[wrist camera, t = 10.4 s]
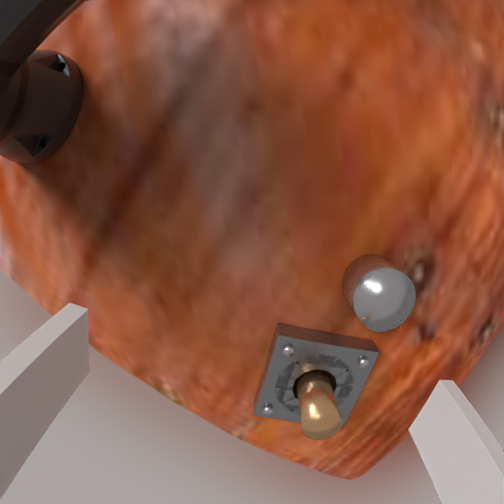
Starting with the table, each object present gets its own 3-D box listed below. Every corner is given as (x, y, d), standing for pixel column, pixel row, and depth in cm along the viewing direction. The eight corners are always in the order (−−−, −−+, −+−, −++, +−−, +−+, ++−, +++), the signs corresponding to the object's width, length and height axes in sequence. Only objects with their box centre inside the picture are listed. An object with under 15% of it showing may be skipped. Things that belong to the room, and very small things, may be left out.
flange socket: (254, 400, 39) (253, 418, 35) (277, 322, 36) (278, 337, 32) (339, 412, 39) (343, 429, 35) (372, 340, 36) (380, 355, 32)
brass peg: (289, 369, 37) (294, 424, 28) (318, 354, 37) (331, 407, 27) (304, 389, 38) (312, 444, 28) (332, 376, 37) (347, 429, 28)
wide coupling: (335, 302, 35) (346, 326, 29) (351, 248, 34) (367, 263, 28) (384, 312, 35) (402, 335, 29) (401, 261, 34) (424, 277, 28)
